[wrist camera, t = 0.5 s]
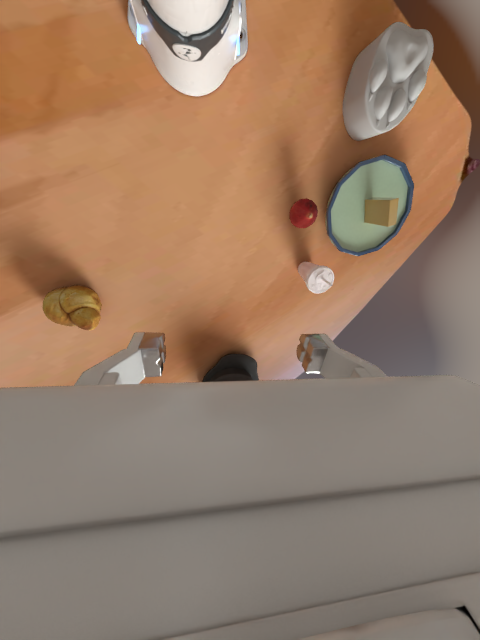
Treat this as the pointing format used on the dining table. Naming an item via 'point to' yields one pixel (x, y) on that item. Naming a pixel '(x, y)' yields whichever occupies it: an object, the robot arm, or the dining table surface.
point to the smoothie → (316, 276)
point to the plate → (355, 205)
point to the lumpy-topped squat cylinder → (386, 80)
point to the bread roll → (73, 307)
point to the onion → (303, 213)
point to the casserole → (233, 369)
